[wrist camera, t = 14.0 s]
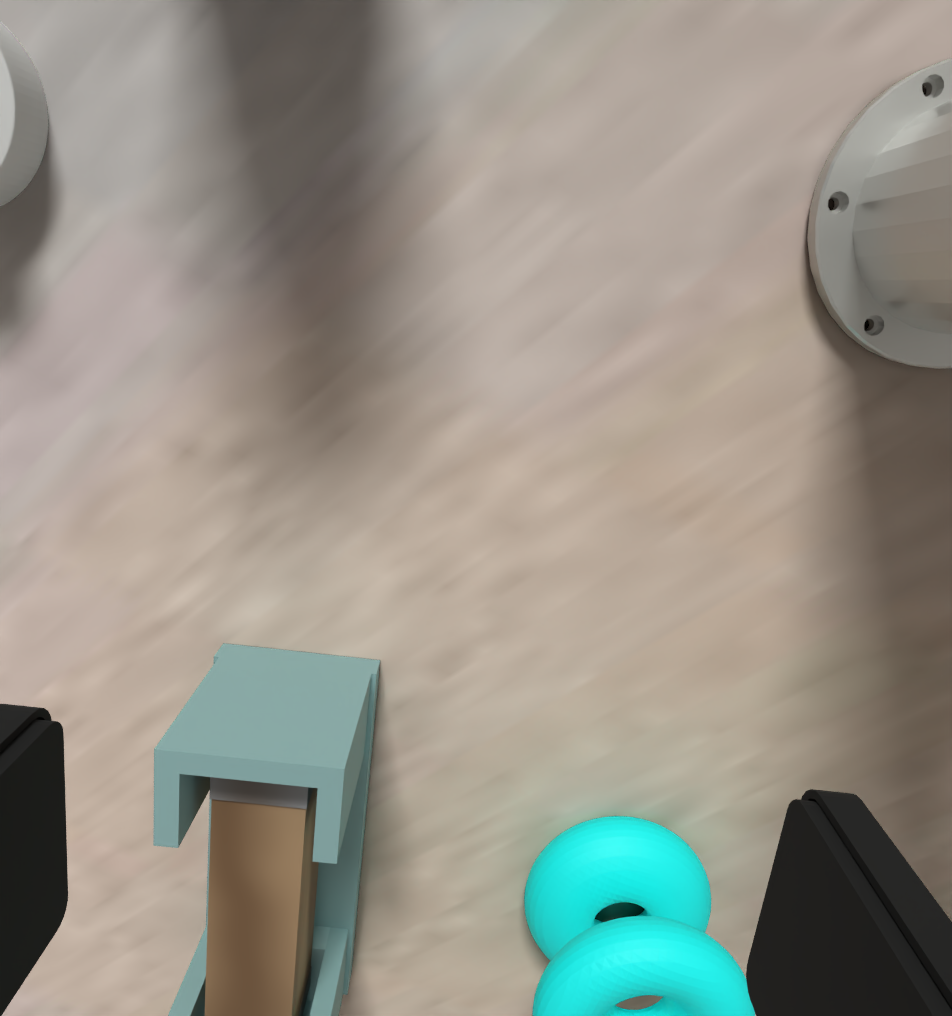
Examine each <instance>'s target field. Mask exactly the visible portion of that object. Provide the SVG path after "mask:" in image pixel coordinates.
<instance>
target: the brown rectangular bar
mask: <svg viewBox="0 0 952 1016" xmlns="http://www.w3.org/2000/svg"><path fill="white" fill-rule="evenodd" d="M317 791H318V788H311V787H301V786H292V785H282V784H272V783H263V782H253V781H244V780H234V779H224V778H215V777H210V799H211V831H210V862H209V893H208V924H207V955H206V986H205V1016H303V1012H304V1008H305V1004H306V1000H307V996H308V992H309V988H310V982H311V969H312V966H311V957H312V944H313V931H314V918H315V905H316V892H317V879H318V866H319V862H312V861H313V847H314V833H315V819H316V805H317Z"/></svg>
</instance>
